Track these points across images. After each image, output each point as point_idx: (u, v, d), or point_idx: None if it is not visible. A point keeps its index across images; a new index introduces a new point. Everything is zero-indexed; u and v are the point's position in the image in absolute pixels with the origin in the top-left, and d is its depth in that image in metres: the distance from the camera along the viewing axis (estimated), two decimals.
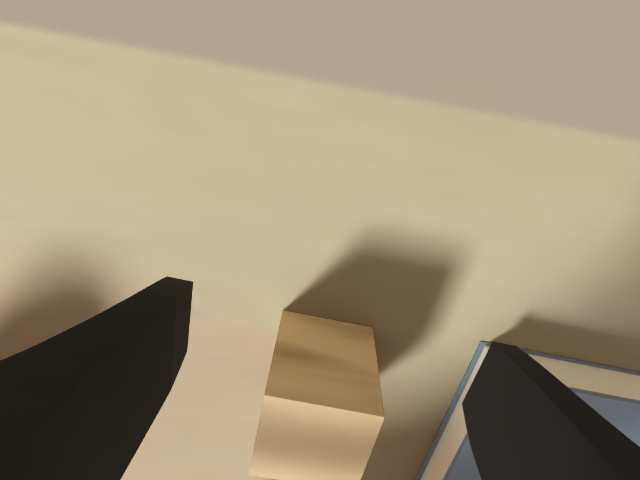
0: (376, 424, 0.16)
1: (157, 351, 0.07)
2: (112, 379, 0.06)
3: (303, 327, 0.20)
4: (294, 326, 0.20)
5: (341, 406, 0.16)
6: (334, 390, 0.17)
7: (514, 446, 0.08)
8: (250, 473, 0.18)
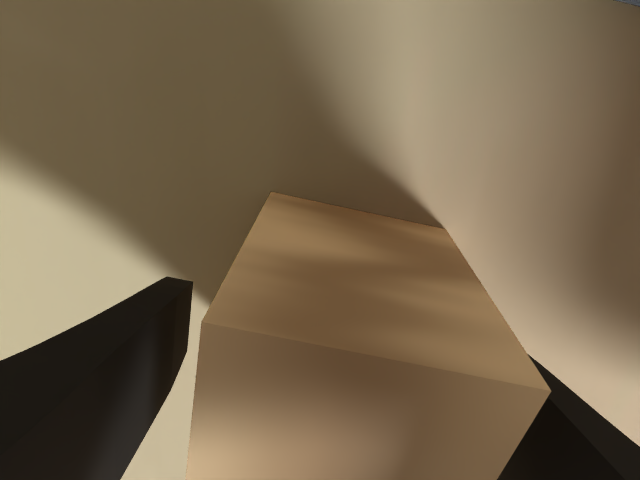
0: (234, 341, 0.05)
1: (157, 351, 0.07)
2: (112, 379, 0.06)
3: None
4: None
5: (195, 407, 0.06)
6: None
7: None
8: None
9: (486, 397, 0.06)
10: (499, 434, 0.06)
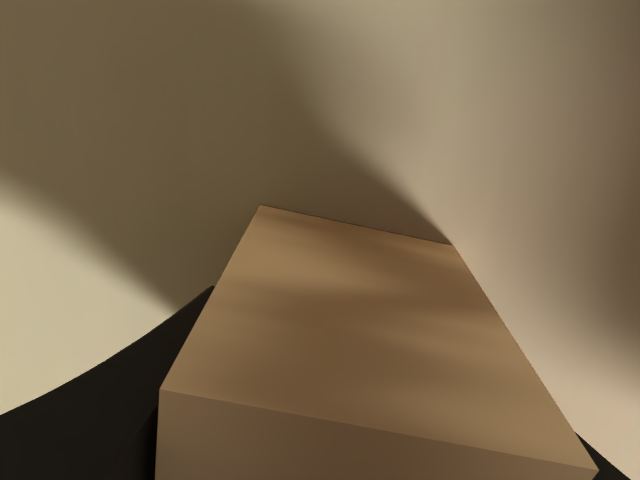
0: (202, 412, 0.04)
1: None
2: None
3: None
4: None
5: None
6: None
7: None
8: None
9: (516, 476, 0.05)
10: None
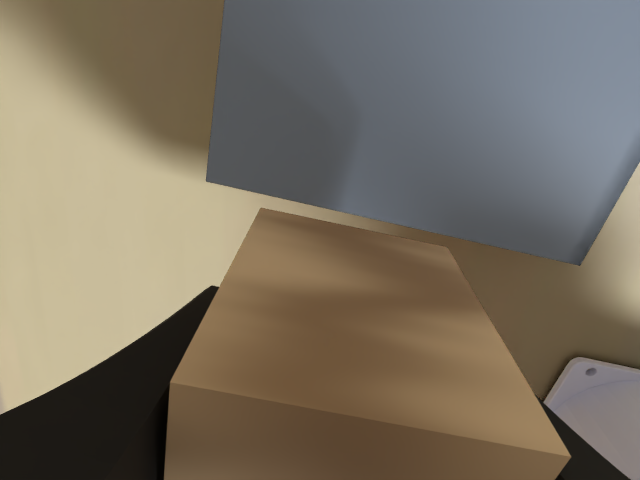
0: (208, 403, 0.05)
1: None
2: None
3: None
4: None
5: (167, 469, 0.05)
6: None
7: None
8: None
9: (495, 462, 0.05)
10: None
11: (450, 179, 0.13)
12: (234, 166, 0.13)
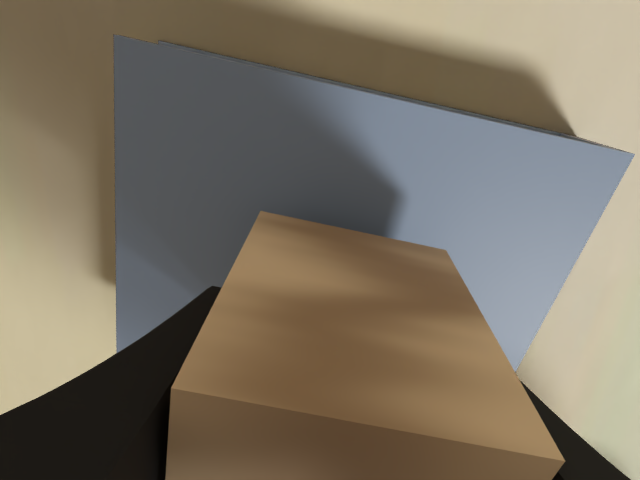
0: (209, 408, 0.05)
1: None
2: None
3: None
4: None
5: (169, 472, 0.06)
6: None
7: None
8: None
9: (491, 466, 0.05)
10: None
11: None
12: None
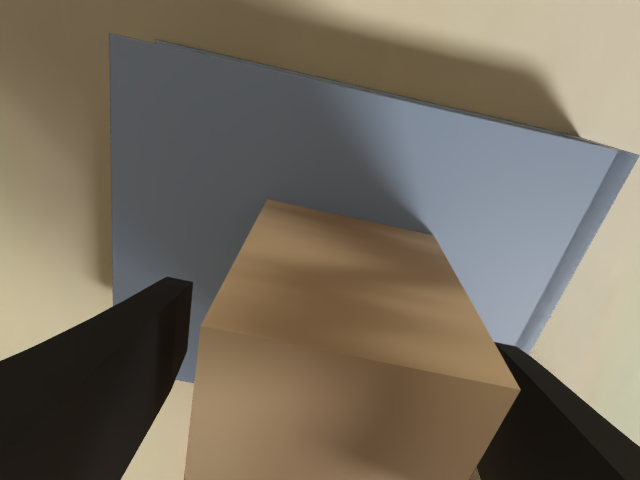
0: (230, 343, 0.06)
1: (157, 351, 0.07)
2: (112, 379, 0.06)
3: None
4: None
5: (193, 404, 0.07)
6: None
7: (514, 446, 0.08)
8: None
9: (461, 395, 0.06)
10: (474, 430, 0.06)
11: None
12: None
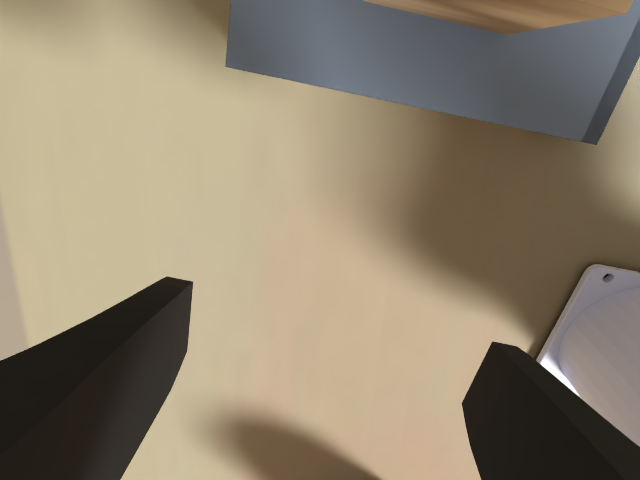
0: None
1: (157, 351, 0.07)
2: (112, 379, 0.06)
3: None
4: None
5: None
6: None
7: (514, 446, 0.08)
8: (623, 7, 0.08)
9: None
10: None
11: (466, 54, 0.14)
12: (253, 49, 0.14)
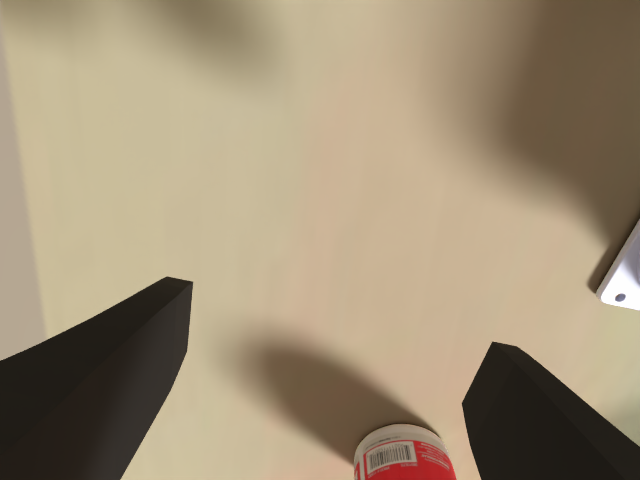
0: None
1: (157, 351, 0.07)
2: (112, 379, 0.06)
3: None
4: None
5: None
6: None
7: (513, 447, 0.08)
8: None
9: None
10: None
11: None
12: None
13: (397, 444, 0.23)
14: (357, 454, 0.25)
